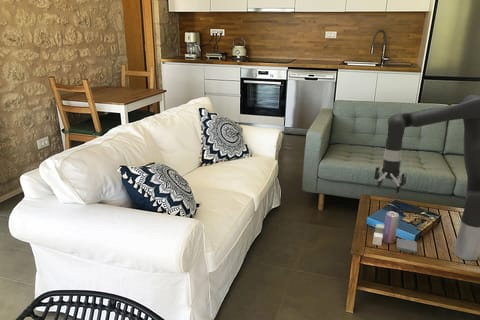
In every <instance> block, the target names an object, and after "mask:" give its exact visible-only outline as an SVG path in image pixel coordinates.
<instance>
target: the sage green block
mask: <svg viewBox="0 0 480 320" xmlns="http://www.w3.org/2000/svg"><path fill="white" fill-rule="evenodd" d="M384 225H385V224H381V223H376V224H375V229H374V230H375V231H374V232H375V233H380V234H383V231H384Z"/></svg>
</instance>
